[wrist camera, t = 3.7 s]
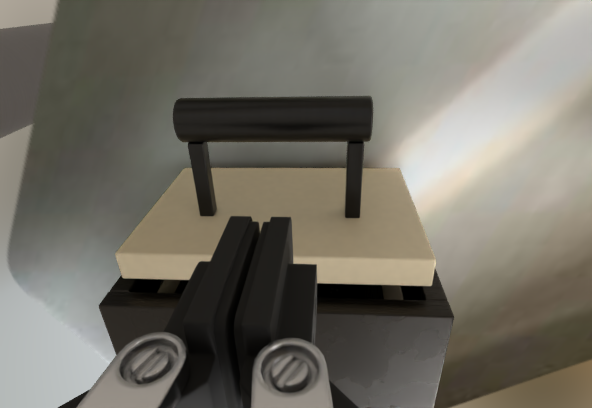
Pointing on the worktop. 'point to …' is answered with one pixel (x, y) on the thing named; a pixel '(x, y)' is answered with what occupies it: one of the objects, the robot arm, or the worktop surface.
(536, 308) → the worktop surface
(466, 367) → the worktop surface
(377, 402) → the black rectangular box
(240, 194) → the beige drawer
